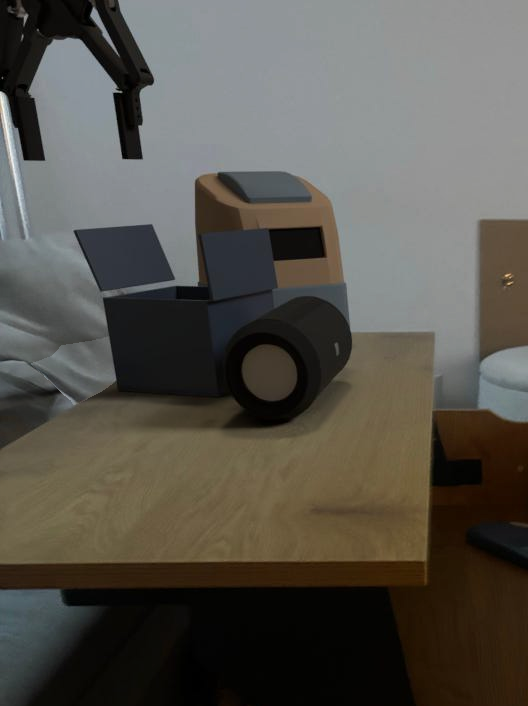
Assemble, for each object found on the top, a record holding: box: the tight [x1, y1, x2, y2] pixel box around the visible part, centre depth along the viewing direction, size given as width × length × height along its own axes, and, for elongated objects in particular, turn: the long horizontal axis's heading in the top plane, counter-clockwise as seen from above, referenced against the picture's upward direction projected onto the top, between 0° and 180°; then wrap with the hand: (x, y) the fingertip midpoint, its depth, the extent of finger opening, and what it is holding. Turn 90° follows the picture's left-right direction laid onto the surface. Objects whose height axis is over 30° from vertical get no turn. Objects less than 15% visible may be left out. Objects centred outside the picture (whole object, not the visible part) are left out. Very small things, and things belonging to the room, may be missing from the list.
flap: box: [73, 223, 176, 293], centre depth 116 cm, size 7×14×1 cm
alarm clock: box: [194, 170, 351, 328], centre depth 132 cm, size 17×17×23 cm
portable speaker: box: [223, 296, 353, 422], centre depth 107 cm, size 26×10×10 cm, turn 178°
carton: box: [102, 228, 278, 398], centre depth 116 cm, size 15×14×17 cm
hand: (82, 160), depth 113 cm, fingers open, 13 cm apart
